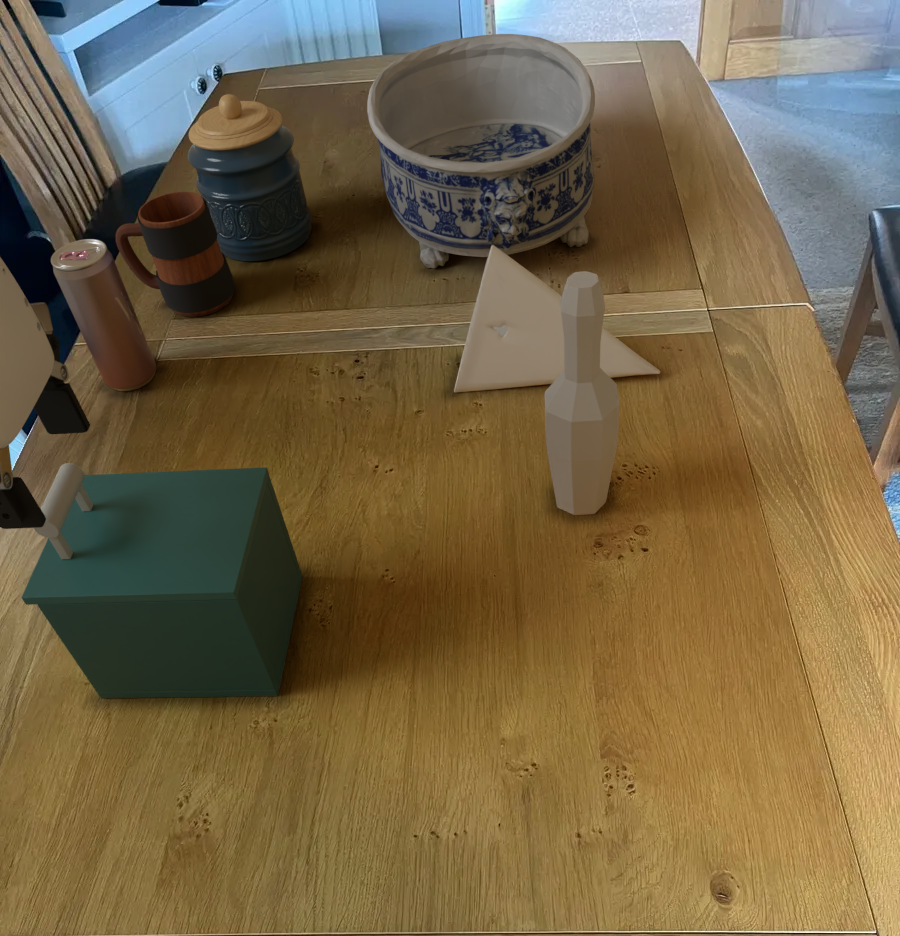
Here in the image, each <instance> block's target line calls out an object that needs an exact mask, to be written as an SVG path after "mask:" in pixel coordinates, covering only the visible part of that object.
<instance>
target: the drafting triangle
mask: <svg viewBox="0 0 900 936" xmlns="http://www.w3.org/2000/svg"><path fill="white" fill-rule="evenodd" d="M482 273H483V274H482V277H481V281H480V285H479V289H478V293H477V296H476V300H475V304H474V309H473V312H472V316H471V320H470V324H469V328H468V331H467V335H466V339H465V342H464V347H463V351H462V355H461V359H460V363H459V367H458V372H457V374H456V375H457V376H456V380H455V385H454V388H453V392H454V393H466V392H468V393H469V392H478V391H490V390H499V389H501V390H502V389H510V388H521V387H523V388H524V387H532V386H533V387H534V386H542V385H551V384H552V383H553V382H554V381H555V380H556V379H557V378H558V377H559V375H560V374H561V373H562V372H563V371H564V332H563V323H562V314H561V304H560V301H561V297H562V294H560V293H558V292H557V291H556V290H554V289H553V288H552V287H550V286H549V285H547V283H545V282H544V281H543V280H542V279H540V278H539V277H537V276H536V275H535V274H533V273H532V272H530V270H528V269H526V268H525V267H524V266H523V265H522V264H520V263H518V262H517V261H516V260H515V259H513V258H512V257H510V256H509V255H506V254H505V253H504V252H502V251H501V250H500V249H498V248H497V247H495V246H494V245H492V246H491V249H490V252H489V255H488V257H486V261H485V265H484V270H483V272H482ZM600 368H601V369H602V370H603V371H604V372H605V373H606V374H607V375H608V376H609V377H610V378H611V379H613V378H622V377H630V376H632V377H633V376H644V375H660V374H661V370H660V369H659V368H657V367H656V366H654V365H653V364H652V363H650V362H649V361H647V360H646V359H645V358H643V357H642V356H641V355H639V354H638V353H636V352H635V351H634V350H633V349H632V348H630V347H629V346H628V345H626V344H625V343H624V342H622V341H621V340H620V339H618V338H617V337H616V336H614V335H613V334H612V333H611V332H610V331H608V330H607V329H606V328H604V327H603V326H602V334H601V342H600Z"/></svg>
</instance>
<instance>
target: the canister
mask: <svg viewBox="0 0 900 936" xmlns="http://www.w3.org/2000/svg"><path fill="white" fill-rule="evenodd" d="M294 137H295V136H294V134H293V133H292V131H291V130H290V129H289V128H288V127H286V126H284V125H283V117H282V115H281V113H280V112H279V111H278V110H277V109H275V108H273V107H269V106H266V104H264V103H262V102H259V101H255V100H254V101H253V100H240V99H239V98H238V97H237V96H236V95H235V94H233V93H227V94H224V95H222V96H221V97H220V99H219V101H218V105H217V106H214V107H211V108H210V109H207V110H206V111H204V112H203V113H202V114H201V115H200V116H199V118H198V119H197V120H196V122H195V123H193V125H192V126H191V127H190V129H189V132H188V139H189V141H190V143H192V145H191V146H190V148H189V150H188V153H187V159H188V162H189V163H190V165H191V166H192V167H193V168H194V169H196V170H195V171H196V175H197V177H196V183H195V184H196V188H197V190H198V192H199V193H200V196H201V197H202V198H203V199H205V201H206V202H207V205H208V208H209V212H210V215H211V218H212V220H213V223H214V226H215V229H216V231H217V241H218V244H219V247H220V250H221V252H222V253H223V254H224V256H225V257H226V258H230V259H232V260H236V261H241V262H261V261H266V260H272V259H276V258H279V257H282V256H284V255H287V254H289V253H291V252H294V251H295V250H297V249H299V248H300V247H301V246H302V245H303V244H304V243H306V242H307V240H308V239H309V238H310V236H311V234H312V231H313V230H312V215H311V209H310V207H309V205H308V202H307V197H306V194H305V193H306V192H305V189H304V184H303V180H302V175H301V171H300V170H301V169H300V168H301V165H300V161H299V160H298V158H297V157H296V156H295V155H294V152H293V149H292V148H293V146H294V141H295V138H294Z"/></svg>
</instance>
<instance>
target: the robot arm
mask: <svg viewBox="0 0 900 936" xmlns="http://www.w3.org/2000/svg"><path fill="white" fill-rule="evenodd" d="M11 272H12V271H10V269H9V267H8V266H7V265H6V263H5V261H4V260H3V258H2V257H1V256H0V528H1V529H3V530H13V529H17V530H18V529H34V528H40V527H43V526H44V523H45V521H46V518H45V515H44V514H43V512H42V510H41V507H40V505H39V504H38V502H37V500H36V499H35V497H34V496H33V494H32V492H31V491H30V488H28V487H29V486H27V484H26V483H25V481H24V479H23V478H22V477H20V476H13V467H12V466H13V465H12V459H11V450H10V444H12V442H13V441H14V440H15V439H16V438H17V437H18V435H19V434H20V432H21V431H22V429H23V427H24V425H26V424H25V423H26V422H27V420H28V418H29V416H30V415H31V413H32V411H33V409H34V411H35V413H36V415H37V416H38V419H39V421H40V422H41V423H42V425H43V428H44V429H45V431H46V433H47V434H49V435H52V436H53V435H70V434H71V435H72V434H84V433H87V432H88V431H89V430H90V427H91V422H90V421H89V419H88V417H87V415H86V413H85V411H84V409H83V407H82V406H81V405H82V404H81V403H80V401H79V399H78V397H77V395H76V393H75V392H74V389H73V387H72V385H71V383H70V382H68V380H69V375H70V374H69V370H68V366H67V365H65V363H62V362H61V351H60V343H61V342H60V341H59V340H60V339H59V338H58V336H57V335H56V334H55V333H53V332H54V327H53V323H52V319H51V313H50V309H49V307H48V305H47V303H46V302H42V301H41V302H29V300H28V298H27V297H26V294H24V292H23V289H21V286H20V284H19V283H18V282H17V280H16V278H15V276H14V275H13V274H12V273H11Z"/></svg>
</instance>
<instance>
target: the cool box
mask: <svg viewBox="0 0 900 936" xmlns="http://www.w3.org/2000/svg"><path fill="white" fill-rule="evenodd" d="M302 573H303V572H302V569H301V567H300V564H299V561H298V557H297V555H296V552H295V548H294V545H293V543H292V539H291V537H290V533H289V532H288V528H287V525H286V522H285V519H284V516H283V513H282V510H281V506H280V504H279V500H278V498H277V495H276V492H275V489H274V484H273V482H272V479H271V477H270V475H269V478H268V482H267V485H266V489H265V493H264V497H263V501H262V505H261V509H260V512H259V516H258V520H257V524H256V528H255V532H254V536H253V539H252V543H251V547H250V551H249V555H248V559H247V563H246V567H245V570H244V574H243V578H242V582H241V586H240V590H239V594H238V597H237V599H228V600H189V601H149V602H110V603H71V604H37V608H39V610H40V611H41V613H42V615H43V616H44V618H45V619H46V620H47V622H48V623H49V624H50V626H51V627H52V629H53V630H54V632H55V633H56V635H57V637H58V638H59V639H60V640H61V642H62V643H63V645H64V647H65V648H66V649H67V651H68V653H69V655H71V657H72V659H73V660H74V661H75V663H76V664H77V665H78V667H79V669H80V670H81V672H82V673H83V674H84V676H85V677H86V679H87V680H88V682H89V684H90V685H91V686H92V688H93V690H94V691H95V692H96V693H97V695H98V696H99V698H100V699H151V698H153V699H154V698H155V699H156V698H157V699H159V698H166V699H167V698H227V697H228V698H229V697H231V698H232V697H233V698H235V697H239V698H240V697H278V696H279V693H280V689H281V684H282V680H283V679H282V678H283V674H284V668H285V663H286V659H287V654H288V649H289V643H290V639H291V635H292V629H293V624H294V620H295V615H296V609H297V605H298V600H299V595H300V590H301V585H302V582H303V581H302V580H303V574H302Z"/></svg>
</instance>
